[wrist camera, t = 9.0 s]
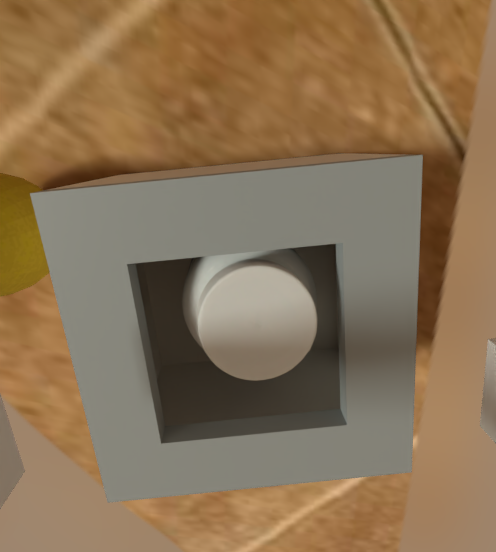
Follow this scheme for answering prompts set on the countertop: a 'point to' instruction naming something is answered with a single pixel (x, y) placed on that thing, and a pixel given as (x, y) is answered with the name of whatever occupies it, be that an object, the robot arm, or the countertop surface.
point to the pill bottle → (251, 311)
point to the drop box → (191, 356)
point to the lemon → (19, 237)
